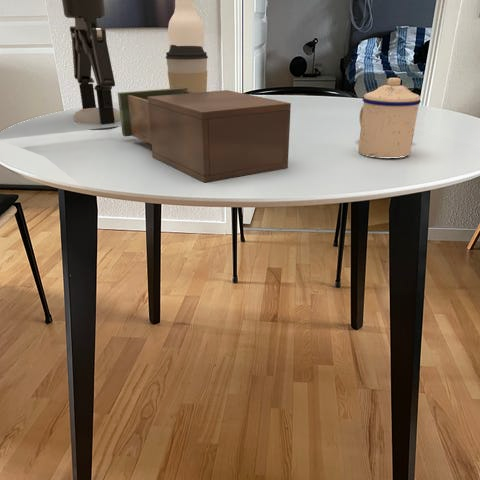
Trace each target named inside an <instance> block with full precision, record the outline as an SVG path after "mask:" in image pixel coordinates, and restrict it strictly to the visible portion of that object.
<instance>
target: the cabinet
mask: <svg viewBox="0 0 480 480" xmlns="http://www.w3.org/2000/svg"><path fill="white" fill-rule="evenodd" d="M147 101H148V111H149V122H150V134H151V144H150V145H151V154H152V158H154V159H156V160H157V161H160V162H162V163H163V164H166V165H168V166H170V167H171V168H174V169H176V170H178V171H180V172H182V173H184V174H186V175H189V176H191V177H192V178H194V179H197V180H199V181H201V182H203V183H209V182H210V183H211V182H215V181H216V182H217V181H222V180H227V179H233V178H238V177H244V176H249V175H254V174H261V173H266V172H271V171H276V170H277V171H279V170H284V169H288V168H289V150H290V128H291V127H290V126H291V109H292V107H291V106H292V103H290V102H287V101H283V100H277V99H272V98H267V97H263V96H257V95H253V94H248V93H243V92H238V91H232V90H228V89H225V90H224V89H223V90H212V91H207V92H198V93H186V94H174V95H162V96H150V97H147Z"/></svg>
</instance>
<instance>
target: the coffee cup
mask: <svg viewBox="0 0 480 480" xmlns="http://www.w3.org/2000/svg"><path fill="white" fill-rule="evenodd" d="M165 55H166V56H165V59H166V66H167V71H166V72H167V78H168V85H169V89H173V88H187V91H190V92H195V93H198V92H208V91H207V90H208V69H207V68H208V59H209V57H208V52H206V51H205V49H204V50H203V48H202V46H176V45H171V46H170V50H168V51H167V52H165Z"/></svg>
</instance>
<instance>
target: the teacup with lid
mask: <svg viewBox="0 0 480 480" xmlns="http://www.w3.org/2000/svg"><path fill="white" fill-rule="evenodd" d="M401 81H402V80H401V78H399V77H389V78H387V84H384V85H381V86H379V87H377V88H376V89H375V90H373V91H370V92H366V93H365V94H364V95H363V98H362V102H363V106H361V108H360V111H359V125H360V133H359V139H358V149H357V151H358V153H359V152H360V153H361V154H364V155H368V156H374V157H400V156H406V155H408V154H409V155H410V154H411V150H412V145H413V139H414V134H415V128H416V123H417V117H418V109H419V104H421V102H422V100H421V96H420V95H419V94H417V93H414V92H412V91H410V90H409V88H407V86H404V85H401ZM360 153H359V154H360ZM361 154H360V155H361ZM364 155H363V156H364ZM409 155H408V156H409Z"/></svg>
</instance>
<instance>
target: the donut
mask: <svg viewBox="0 0 480 480" xmlns="http://www.w3.org/2000/svg"><path fill="white" fill-rule="evenodd" d="M113 111H114V120H115V123H118V122H121V118H120V110H119V109H116V108H113ZM73 121H74V122H75V123H77V124H83V125H84V124H85V125H102V124H101V123H100V115H99V108H98V107H96V108H87V109H83V108H81V109H79V110H77V111H75V113H74V114H73ZM119 127H120V126H119V125H117V126H108V127H100V128H99V127H98V128H90V129H88V131H106V130H107V131H108V130H113V129H117V128H119Z"/></svg>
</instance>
